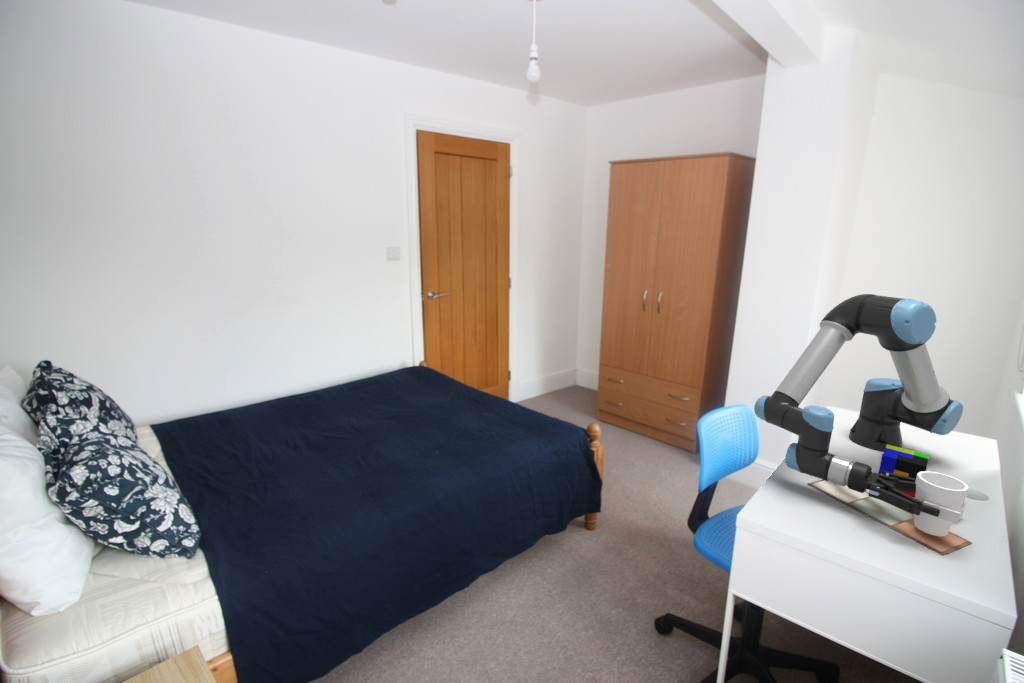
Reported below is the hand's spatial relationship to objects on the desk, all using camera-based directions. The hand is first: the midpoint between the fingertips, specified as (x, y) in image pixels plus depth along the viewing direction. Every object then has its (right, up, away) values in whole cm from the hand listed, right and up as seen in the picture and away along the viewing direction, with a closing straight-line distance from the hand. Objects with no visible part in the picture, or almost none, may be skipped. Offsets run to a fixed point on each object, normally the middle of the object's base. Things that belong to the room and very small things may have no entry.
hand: (961, 510), depth 116 cm
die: (+8, -6, +14) cm, 17 cm away
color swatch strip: (-8, -5, +15) cm, 18 cm away
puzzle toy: (+7, -3, +28) cm, 29 cm away
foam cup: (-3, -6, +5) cm, 9 cm away
